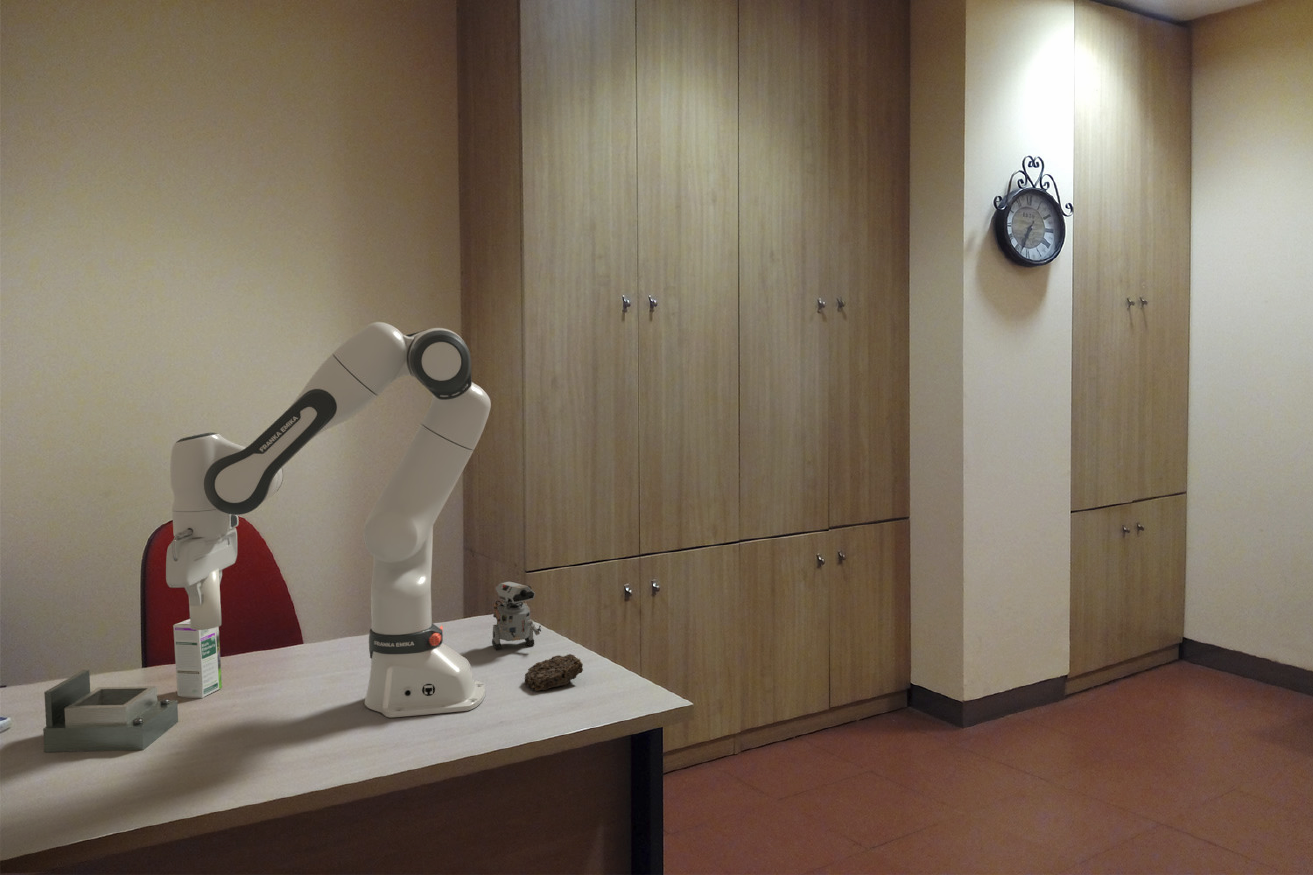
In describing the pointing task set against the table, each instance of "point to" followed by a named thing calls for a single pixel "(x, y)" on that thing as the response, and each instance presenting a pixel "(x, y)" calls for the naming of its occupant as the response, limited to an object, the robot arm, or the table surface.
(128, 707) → the bolted metal fixture
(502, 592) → the figurine
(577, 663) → the brown porous lump
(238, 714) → the table surface
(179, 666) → the syrup box
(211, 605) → the white rounded piece
